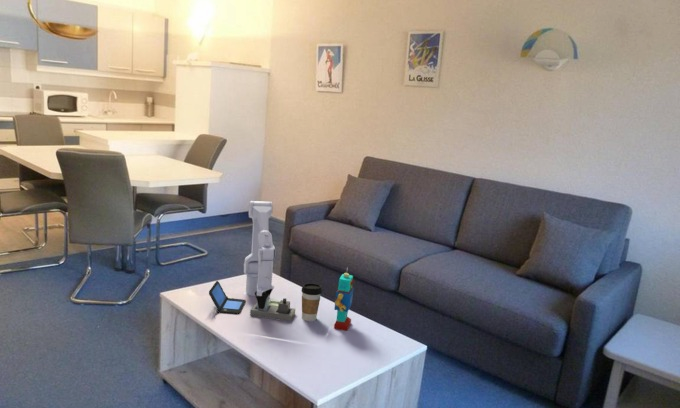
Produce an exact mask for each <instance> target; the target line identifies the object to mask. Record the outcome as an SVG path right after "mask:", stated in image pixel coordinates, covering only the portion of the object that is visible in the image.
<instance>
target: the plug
mask: <svg viewBox="0 0 680 408" xmlns="http://www.w3.org/2000/svg"><path fill="white" fill-rule="evenodd" d="M264 293H266V292H264ZM270 297H271V294H270V295H268V297H267V299H266V303H265V307H264V309H259V307H258V302H256V303H257V310H264V311H267V310H268V309H269V301H270V300H271V299H270Z"/></svg>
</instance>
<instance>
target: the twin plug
mask: <svg viewBox="0 0 680 408" xmlns="http://www.w3.org/2000/svg"><path fill="white" fill-rule="evenodd" d="M290 308H291V301H290V300H289V301H288V300H287V298H285V297H284V298H282V299H281V300H280V301H279V304H278V313H283V314H289V312H290Z"/></svg>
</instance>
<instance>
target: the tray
mask: <svg viewBox="0 0 680 408" xmlns="http://www.w3.org/2000/svg"><path fill="white" fill-rule="evenodd" d="M279 302H280V301H278V300H272V299H270V300H269V305H274V306H278V304H279Z"/></svg>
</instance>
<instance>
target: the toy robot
mask: <svg viewBox="0 0 680 408" xmlns="http://www.w3.org/2000/svg"><path fill="white" fill-rule="evenodd" d="M348 269H349V268H348V267H346V270H345V272H344V273H342V274H341V276H340V277H339V280H338V287H337V290H336V292H335V298H334V311H336V320H335V323H334V325H333V329H336V330H340V331H341V330H342V331H346V332H347V331H348V330H349V327H350V325H351V322H352V318H351V317H348V314H349V310H350V308H351V307H352V303H353V295H354V287H353V283H354V275H351V274H349V273H348Z"/></svg>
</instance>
